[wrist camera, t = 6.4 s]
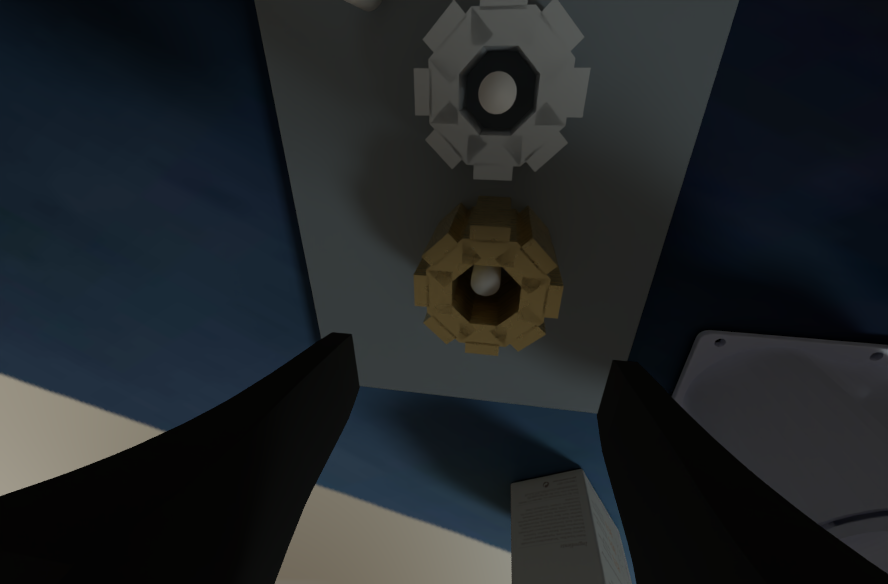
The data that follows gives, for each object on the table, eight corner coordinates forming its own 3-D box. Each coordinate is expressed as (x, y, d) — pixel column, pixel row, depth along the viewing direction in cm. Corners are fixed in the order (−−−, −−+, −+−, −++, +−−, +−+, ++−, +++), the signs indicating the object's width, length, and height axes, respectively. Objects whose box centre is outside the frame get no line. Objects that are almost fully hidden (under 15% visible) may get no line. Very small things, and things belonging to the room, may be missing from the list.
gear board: (765, -158, 11) (896, -283, 7) (604, 395, 23) (624, 460, 19) (253, -118, 14) (151, -198, 10) (339, 366, 25) (307, 419, 21)
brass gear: (560, 199, 16) (573, 231, 13) (542, 310, 19) (549, 361, 15) (431, 193, 17) (411, 222, 13) (433, 300, 19) (416, 347, 16)
